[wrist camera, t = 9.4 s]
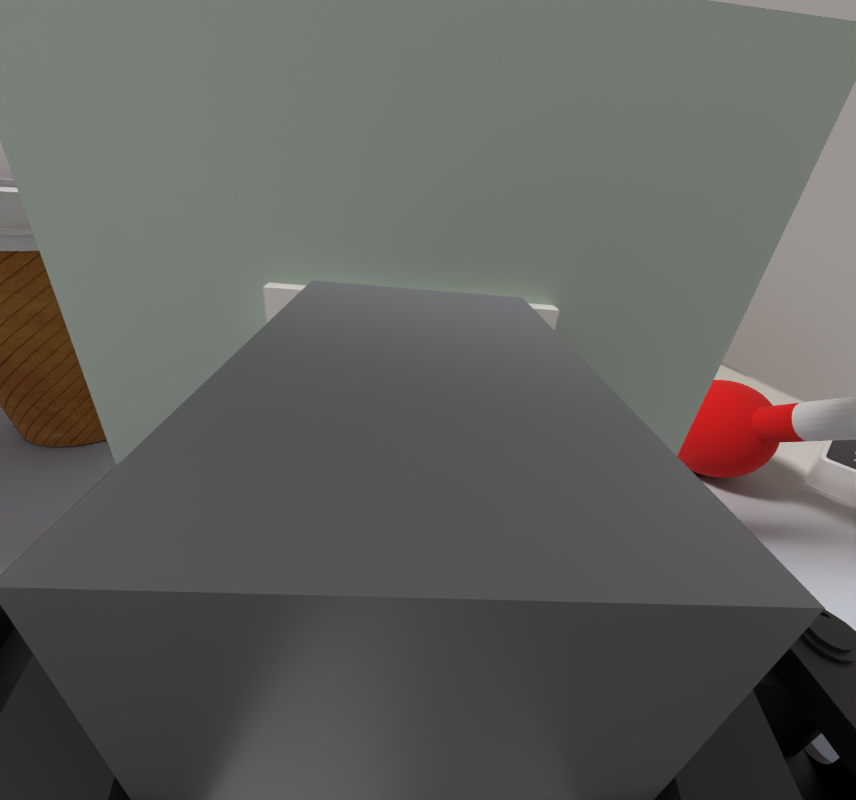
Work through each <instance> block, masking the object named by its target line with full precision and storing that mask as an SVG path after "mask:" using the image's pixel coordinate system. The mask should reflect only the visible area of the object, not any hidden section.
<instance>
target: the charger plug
mask: <svg viewBox="0 0 856 800" xmlns="http://www.w3.org/2000/svg"><path fill="white" fill-rule="evenodd" d="M0 605H1V606H2V608H3V609H4V611H5V612H6V614H7V615H8V617H9V618H10V620H11V621H12V623H13V624H14V626H15V627H16V629H17V630H18V632H19V633H20V635H21V636H22V638H23V639H24V641H25V642H26V644H27V645H28V647H29V648H30V650H31V651H32V653H33V654H34V656H35V657H36V659H37V660H38V662H39V663H40V665H41V666H42V668H43V669H44V671H45V672H46V674H47V675H48V677H49V678H50V680H51V681H52V683H53V684H54V686H55V687H56V689H57V690H58V692H59V693H60V695H61V696H62V698H63V699H64V701H65V702H66V704H67V705H68V707H69V708H70V710H71V711H72V713H73V714H74V716H75V717H76V719H77V720H78V722H79V723H80V725H81V726H82V728H83V729H84V731H85V732H86V734H87V735H88V736H89V738H90V739H91V741H92V742H93V744H94V745H95V747H96V748H97V750H98V751H99V753H100V754H101V756H102V757H103V759H104V760H105V762H106V763H107V765H108V766H109V768H110V769H111V771H112V772H113V774H114V775H115V777H116V778H117V780H118V781H119V783H120V784H121V786H122V787H123V789H124V790H125V792H126V793H127V795H128V796H129V798H130V799H131V800H654V799H655V798H656V797H657V796H658V795H659V794H660V793H661V791H662V790H663V789H664V788H665V787H666V786H667V785H668V784H669V782H670V781H671V780H672V779H673V778H674V777H675V776H676V775H677V773H678V772H679V771H680V770H681V769H682V768H683V767H684V766H685V764H686V763H687V762H688V761H689V760H690V759H691V758H692V757H693V756H694V754H695V753H696V752H697V751H698V750H699V749H700V748H701V747H702V745H703V744H704V743H705V742H706V741H707V740H708V739H709V738H710V736H711V735H712V734H713V733H714V732H715V731H716V730H717V729H718V728H719V726H720V725H721V724H722V723H723V722H724V721H725V720H726V719H727V717H728V716H729V715H730V714H731V713H732V712H733V711H734V710H735V708H736V707H737V706H738V705H739V704H740V703H741V702H742V701H743V700H744V698H745V697H746V696H747V695H748V694H749V693H750V692H751V691H752V689H753V688H754V687H755V686H756V685H757V684H758V683H759V682H760V680H761V679H762V678H763V677H764V676H765V675H766V674H767V673H768V672H769V670H770V669H771V668H772V667H773V666H774V665H775V664H776V663H777V661H778V660H779V659H780V658H781V657H782V656H783V655H784V654H785V652H786V651H787V650H788V649H789V648H790V647H791V646H792V645H793V644H794V642H795V641H796V640H797V639H798V638H799V637H800V636H801V635H802V633H803V632H804V631H805V630H806V629H807V628H808V627H809V626H810V624H811V623H812V622H813V621H814V620H815V619H816V618H817V617H818V616H819V614H820V613H821V612H822V611H823V610H824V609H825V608H824V607H823V606H822V605H821V604H820V603H819V602H818V601H817V600H816V598H815V597H814V596H813V595H812V594H811V593H810V592H809V591H808V590H807V589H806V588H805V587H804V586H803V585H802V584H801V583H800V582H799V581H798V580H797V579H796V578H795V577H794V576H793V575H792V574H791V573H790V572H789V571H788V570H787V569H786V568H785V567H784V566H783V565H782V564H781V563H780V562H779V560H778V559H777V558H776V557H775V556H774V555H773V554H772V553H771V552H770V551H769V550H768V549H767V548H766V547H765V546H764V545H763V544H762V543H761V542H760V541H759V540H758V539H757V538H756V537H755V536H754V535H753V534H752V533H751V532H750V531H749V530H748V529H747V528H746V527H745V526H744V525H743V524H742V522H741V521H740V520H739V519H738V518H737V517H736V516H735V515H734V514H733V513H732V512H731V511H730V510H729V509H728V508H727V507H726V506H725V505H724V504H723V503H722V502H721V501H720V500H719V499H718V498H717V497H716V496H715V495H714V494H713V493H712V492H711V491H710V490H709V489H708V488H707V487H706V486H705V485H704V483H703V482H702V481H701V480H700V479H699V478H698V477H697V476H696V475H695V474H694V473H693V472H692V471H691V470H690V469H689V468H688V467H687V466H686V465H685V464H684V463H683V462H682V461H681V460H680V459H679V458H678V457H677V456H676V455H675V454H674V453H673V452H672V451H671V450H670V449H669V448H668V447H667V445H666V444H665V443H664V442H663V441H662V440H661V439H660V438H659V437H658V436H657V435H656V434H655V433H654V432H653V431H652V430H651V429H650V428H649V427H648V426H647V425H646V424H645V423H644V422H643V421H642V420H641V419H640V418H639V417H638V416H637V415H636V414H635V413H634V412H633V411H632V410H631V409H630V407H629V406H628V405H627V404H626V403H625V402H624V401H623V400H622V399H621V398H620V397H619V396H618V395H617V394H616V393H615V392H614V391H613V390H612V389H611V388H610V387H609V386H608V385H607V384H606V383H605V382H604V381H603V380H602V379H601V378H600V377H599V376H598V375H597V374H596V373H595V372H594V371H593V369H592V368H591V367H590V366H589V365H588V364H587V363H586V362H585V361H584V360H583V359H582V358H581V357H580V356H579V355H578V354H577V353H576V352H575V351H574V350H573V349H572V348H571V347H570V346H569V345H568V344H567V343H566V342H565V341H564V340H563V339H562V338H561V337H560V336H559V335H558V334H557V333H556V332H555V330H554V329H553V328H552V327H551V326H550V325H549V324H548V323H547V322H546V321H545V320H544V319H543V318H542V317H541V316H540V315H539V314H538V313H537V312H536V311H535V310H534V309H533V308H532V307H531V306H530V305H529V304H528V303H527V302H526V301H525V300H524V299H523V298H522V297H510V296H497V295H485V294H473V293H461V292H448V291H436V290H424V289H411V288H399V287H387V286H375V285H362V284H350V283H338V282H325V281H313V280H312V281H311V282H310V283H309V284H308V285H307V286H306V287H305V288H304V289H302V290H301V291H300V292H299V293H298V294H297V295H296V296H295V297H294V298H293V299H292V300H291V301H290V302H289V303H288V304H287V305H286V306H285V307H283V308H282V309H281V310H280V311H279V312H278V313H277V314H276V315H275V316H274V317H273V318H272V319H271V320H270V321H269V322H268V323H267V324H266V325H264V326H263V327H262V328H261V329H260V330H259V331H258V332H257V333H256V334H255V335H254V336H253V337H252V338H251V339H250V340H249V341H248V342H247V343H246V344H244V345H243V346H242V347H241V348H240V349H239V350H238V351H237V352H236V353H235V354H234V355H233V356H232V357H231V358H230V359H229V360H228V361H227V362H225V363H224V364H223V365H222V366H221V367H220V368H219V369H218V370H217V371H216V372H215V373H214V374H213V375H212V376H211V377H210V378H209V379H208V380H206V381H205V382H204V383H203V384H202V385H201V386H200V387H199V388H198V389H197V390H196V391H195V392H194V393H193V394H192V395H191V396H190V397H189V398H187V399H186V400H185V401H184V402H183V403H182V404H181V405H180V406H179V407H178V408H177V409H176V410H175V411H174V412H173V413H172V414H171V415H170V416H169V417H167V418H166V419H165V420H164V421H163V422H162V423H161V424H160V425H159V426H158V427H157V428H156V429H155V430H154V431H153V432H152V433H151V434H150V435H148V436H147V437H146V438H145V439H144V440H143V441H142V442H141V443H140V444H139V445H138V446H137V447H136V448H135V449H134V450H133V451H132V452H131V453H129V454H128V455H127V456H126V457H125V458H124V459H123V460H122V461H121V462H120V463H119V464H118V465H117V466H116V467H115V468H114V469H113V470H112V471H110V472H109V473H108V474H107V475H106V476H105V477H104V478H103V479H102V480H101V481H100V482H99V483H98V484H97V485H96V486H95V487H94V488H93V489H92V490H90V491H89V492H88V493H87V494H86V495H85V496H84V497H83V498H82V499H81V500H80V501H79V502H78V503H77V504H76V505H75V506H74V507H73V508H71V509H70V510H69V511H68V512H67V513H66V514H65V515H64V516H63V517H62V518H61V519H60V520H59V521H58V522H57V523H56V524H55V525H54V526H52V527H51V528H50V529H49V530H48V531H47V532H46V533H45V534H44V535H43V536H42V537H41V538H40V539H39V540H38V541H37V542H36V543H35V544H33V545H32V546H31V547H30V548H29V549H28V550H27V551H26V552H25V553H24V554H23V555H22V556H21V557H20V558H19V559H18V560H17V561H16V562H14V563H13V564H12V565H11V566H10V567H9V568H8V569H7V570H6V571H5V572H4V573H3V574H2V575H1V576H0Z"/></svg>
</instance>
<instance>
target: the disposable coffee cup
mask: <svg viewBox="0 0 856 800" xmlns="http://www.w3.org/2000/svg"><path fill="white" fill-rule="evenodd" d="M0 406H1V407H2V409H3V410H4V411H5V413H6V414H7V416H8V417H9V419H10V420H11V421H12V423H13V424H14V426H15V427H16V428H17V430H18V431H19V433H20V434H21V436H22V437H23V438H24V439H25V440H26V441H28V442H31V443H34V444H36V445H43V446H52V447H63V446H76V445H83V444H89V443H95V442H99V441H103V440H106V436H105V433H104V431H103V428H102V425H101V422H100V419H99V417H98V414H97V411H96V408H95V405H94V403H93V400H92V397H91V394H90V391H89V388H88V386H87V383H86V380H85V377H84V374H83V372H82V369H81V366H80V363H79V360H78V358H77V355H76V352H75V349H74V346H73V344H72V341H71V338H70V335H69V332H68V330H67V327H66V324H65V321H64V318H63V316H62V313H61V310H60V307H59V304H58V302H57V299H56V296H55V293H54V290H53V287H52V285H51V282H50V279H49V276H48V273H47V271H46V268H45V265H44V262H43V259H42V257H41V254H40V251H39V248H38V245H37V243H36V240H35V237H34V234H33V231H32V229H31V226H30V223H29V220H28V217H27V215H26V212H25V209H24V206H23V203H22V201H21V198H20V195H19V192H18V189H17V186H16V184H15V181H14V179H0Z"/></svg>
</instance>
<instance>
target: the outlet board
mask: <svg viewBox="0 0 856 800" xmlns="http://www.w3.org/2000/svg"><path fill="white" fill-rule="evenodd" d="M855 81H856V21H850V20H842V19H836V18H829V17H822V16H815V15H807V14H801V13H794V12H787V11H780V10H772V9H765V8H758V7H751V6H743V5H737V4H730V3H723V2H716V1H709V0H0V142H1V144H2V147H3V150H4V153H5V156H6V158H7V161H8V164H9V167H10V169H11V172H12V175H13V178H14V181H15V184H16V186H17V189H18V192H19V195H20V198H21V201H22V203H23V206H24V209H25V212H26V215H27V217H28V220H29V223H30V226H31V229H32V231H33V234H34V237H35V240H36V243H37V245H38V248H39V251H40V254H41V257H42V259H43V262H44V265H45V268H46V271H47V273H48V276H49V279H50V282H51V285H52V287H53V290H54V293H55V296H56V299H57V302H58V304H59V307H60V310H61V313H62V316H63V318H64V321H65V324H66V327H67V330H68V332H69V335H70V338H71V341H72V344H73V346H74V349H75V352H76V355H77V358H78V360H79V363H80V366H81V369H82V372H83V374H84V377H85V380H86V383H87V386H88V388H89V391H90V394H91V397H92V400H93V403H94V405H95V408H96V411H97V414H98V417H99V419H100V422H101V425H102V428H103V431H104V433H105V436H106V439H107V442H108V445H109V447H110V450H111V453H112V456H113V459H114V461H115V464H116V466H117V465H118V464H119V463H120V462H121V461H122V460H123V459H124V458H125V457H126V456H127V455H128V454H129V453H131V452H132V451H133V450H134V449H135V448H136V447H137V446H138V445H139V444H140V443H141V442H142V441H143V440H144V439H145V438H146V437H147V436H148V435H150V434H151V433H152V432H153V431H154V430H155V429H156V428H157V427H158V426H159V425H160V424H161V423H162V422H163V421H164V420H165V419H166V418H167V417H169V416H170V415H171V414H172V413H173V412H174V411H175V410H176V409H177V408H178V407H179V406H180V405H181V404H182V403H183V402H184V401H185V400H186V399H187V398H189V397H190V396H191V395H192V394H193V393H194V392H195V391H196V390H197V389H198V388H199V387H200V386H201V385H202V384H203V383H204V382H205V381H206V380H208V379H209V378H210V377H211V376H212V375H213V374H214V373H215V372H216V371H217V370H218V369H219V368H220V367H221V366H222V365H223V364H224V363H225V362H227V361H228V360H229V359H230V358H231V357H232V356H233V355H234V354H235V353H236V352H237V351H238V350H239V349H240V348H241V347H242V346H243V345H244V344H246V343H247V342H248V341H249V340H250V339H251V338H252V337H253V336H254V335H255V334H256V333H257V332H258V331H259V330H260V329H261V328H262V327H263V326H264V325H266V324H267V323H268V322H269V321H270V320H271V319H272V318H273V317H274V316H275V315H276V314H277V313H278V312H279V311H280V310H281V309H282V308H283V307H285V306H286V305H287V304H288V303H289V302H290V301H291V300H292V299H293V298H294V297H295V296H296V295H297V294H298V293H299V292H300V291H301V290H302V289H304V288H305V287H306V286H307V285H308V284H309V283H310V282H311V281H312V280H313V281H325V282H338V283H350V284H362V285H375V286H387V287H399V288H411V289H424V290H436V291H448V292H461V293H473V294H485V295H497V296H510V297H522V298H523V299H524V300H525V301H526V302H527V303H528V304H529V305H530V306H531V307H532V308H533V309H534V310H535V311H536V312H537V313H538V314H539V315H540V316H541V317H542V318H543V319H544V320H545V321H546V322H547V323H548V324H549V325H550V326H551V327H552V328H553V329H554V330H555V332H556V333H557V334H558V335H559V336H560V337H561V338H562V339H563V340H564V341H565V342H566V343H567V344H568V345H569V346H570V347H571V348H572V349H573V350H574V351H575V352H576V353H577V354H578V355H579V356H580V357H581V358H582V359H583V360H584V361H585V362H586V363H587V364H588V365H589V366H590V367H591V368H592V369H593V371H594V372H595V373H596V374H597V375H598V376H599V377H600V378H601V379H602V380H603V381H604V382H605V383H606V384H607V385H608V386H609V387H610V388H611V389H612V390H613V391H614V392H615V393H616V394H617V395H618V396H619V397H620V398H621V399H622V400H623V401H624V402H625V403H626V404H627V405H628V406H629V407H630V409H631V410H632V411H633V412H634V413H635V414H636V415H637V416H638V417H639V418H640V419H641V420H642V421H643V422H644V423H645V424H646V425H647V426H648V427H649V428H650V429H651V430H652V431H653V432H654V433H655V434H656V435H657V436H658V437H659V438H660V439H661V440H662V441H663V442H664V443H665V444H666V445H667V447H668V448H669V449H670V450H671V451H672V452H673V453H674V454H675V455H676V456H677V455H678V453H679V451H680V449H681V447H682V445H683V442H684V440H685V438H686V436H687V434H688V432H689V430H690V428H691V426H692V424H693V421H694V419H695V417H696V415H697V413H698V411H699V409H700V407H701V405H702V403H703V400H704V398H705V396H706V394H707V392H708V390H709V388H710V386H711V384H712V382H713V379H714V377H715V375H716V373H717V371H718V369H719V367H720V365H721V363H722V360H723V358H724V356H725V354H726V352H727V350H728V348H729V346H730V344H731V342H732V339H733V337H734V335H735V333H736V331H737V329H738V327H739V325H740V322H741V321H742V318H743V316H744V314H745V312H746V310H747V308H748V306H749V303H750V302H751V300H752V297H753V295H754V293H755V291H756V289H757V287H758V285H759V283H760V280H761V278H762V276H763V274H764V272H765V270H766V268H767V266H768V263H769V262H770V260H771V257H772V255H773V253H774V251H775V249H776V247H777V245H778V243H779V241H780V238H781V236H782V234H783V232H784V230H785V228H786V226H787V224H788V222H789V219H790V218H791V215H792V213H793V211H794V209H795V207H796V204H797V203H798V201H799V199H800V196H801V194H802V192H803V190H804V188H805V186H806V184H807V182H808V180H809V178H810V175H811V173H812V171H813V169H814V167H815V165H816V163H817V161H818V159H819V156H820V154H821V152H822V150H823V148H824V146H825V144H826V142H827V140H828V138H829V136H830V133H831V131H832V129H833V127H834V125H835V123H836V121H837V119H838V117H839V114H840V112H841V110H842V108H843V106H844V104H845V102H846V100H847V97H848V96H849V93H850V91H851V89H852V87H853V85H854V83H855Z"/></svg>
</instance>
